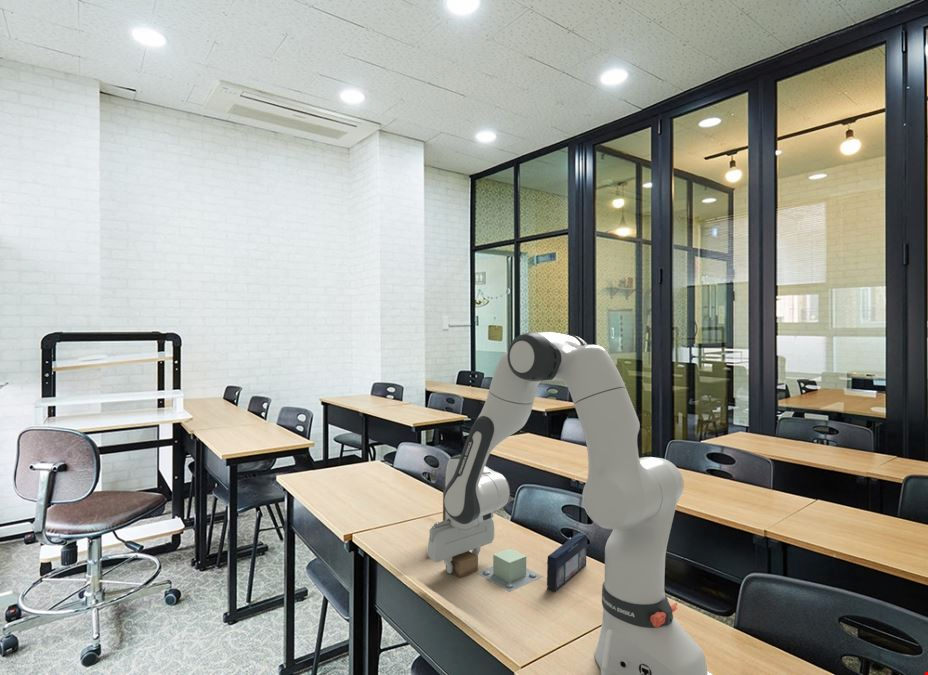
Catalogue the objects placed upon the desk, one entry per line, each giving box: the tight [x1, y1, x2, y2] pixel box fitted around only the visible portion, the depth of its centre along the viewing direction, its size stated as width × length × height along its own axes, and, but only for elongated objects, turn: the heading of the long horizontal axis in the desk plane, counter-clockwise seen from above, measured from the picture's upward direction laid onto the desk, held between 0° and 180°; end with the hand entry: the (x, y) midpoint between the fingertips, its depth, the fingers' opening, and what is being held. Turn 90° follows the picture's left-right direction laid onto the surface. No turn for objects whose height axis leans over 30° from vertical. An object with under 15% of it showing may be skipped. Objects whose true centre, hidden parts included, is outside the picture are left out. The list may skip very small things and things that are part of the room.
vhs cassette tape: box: [546, 532, 588, 593], centre depth 129 cm, size 18×3×10 cm, turn 141°
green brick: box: [492, 548, 527, 583], centre depth 130 cm, size 6×6×5 cm
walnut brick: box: [445, 551, 479, 579], centre depth 132 cm, size 6×6×5 cm
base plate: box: [477, 566, 544, 592], centre depth 130 cm, size 12×12×2 cm
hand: (461, 567), depth 132 cm, fingers closed on walnut brick, 6 cm apart
